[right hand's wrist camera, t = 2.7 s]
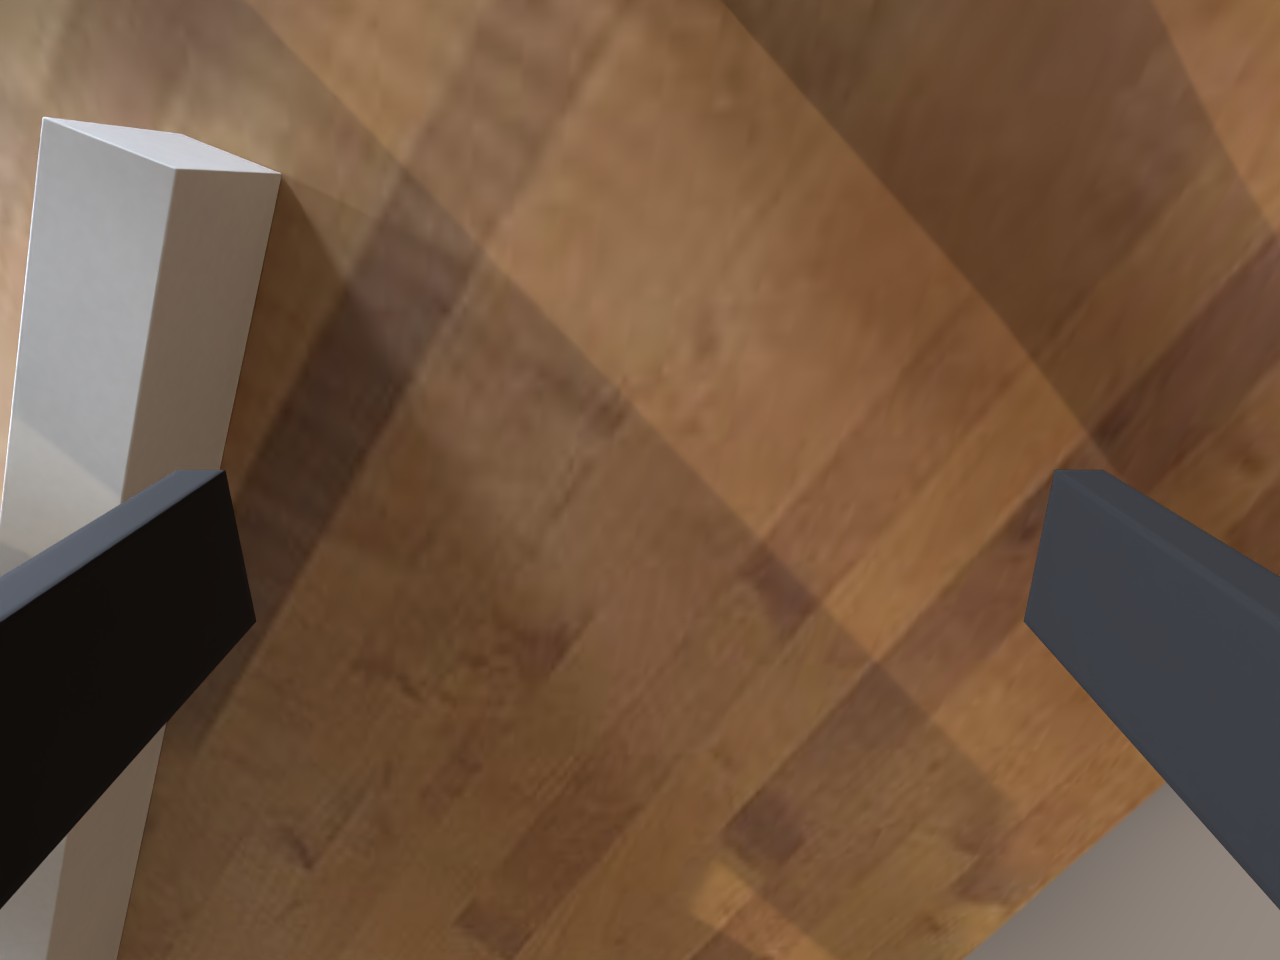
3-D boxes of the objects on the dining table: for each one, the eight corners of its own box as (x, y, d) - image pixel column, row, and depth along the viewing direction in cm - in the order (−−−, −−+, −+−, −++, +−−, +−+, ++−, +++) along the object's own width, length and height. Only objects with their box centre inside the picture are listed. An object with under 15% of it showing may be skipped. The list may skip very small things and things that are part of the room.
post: (180, 133, 34) (41, 116, 26) (282, 173, 35) (176, 168, 27) (41, 980, 53) (-65, 1119, 45) (109, 996, 54) (16, 1137, 46)
